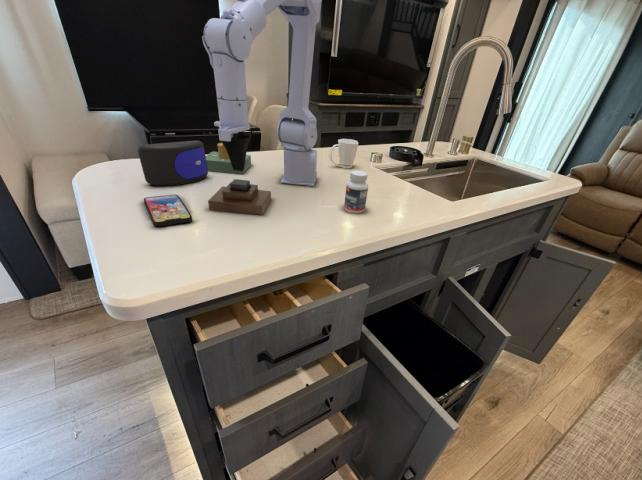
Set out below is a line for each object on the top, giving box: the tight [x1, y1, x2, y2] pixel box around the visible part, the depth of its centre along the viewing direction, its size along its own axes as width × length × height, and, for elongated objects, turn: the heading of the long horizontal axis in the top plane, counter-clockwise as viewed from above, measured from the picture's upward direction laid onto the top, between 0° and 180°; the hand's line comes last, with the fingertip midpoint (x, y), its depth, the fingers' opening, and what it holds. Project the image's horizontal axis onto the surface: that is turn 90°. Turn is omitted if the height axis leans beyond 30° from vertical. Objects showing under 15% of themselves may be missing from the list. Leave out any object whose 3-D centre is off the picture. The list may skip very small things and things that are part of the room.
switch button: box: [229, 178, 251, 192], centre depth 74 cm, size 4×4×2 cm
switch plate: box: [207, 183, 272, 216], centre depth 75 cm, size 12×10×4 cm
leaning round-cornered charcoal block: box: [137, 140, 209, 187], centre depth 82 cm, size 16×5×9 cm, turn 134°
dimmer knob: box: [216, 142, 229, 159], centre depth 96 cm, size 4×4×4 cm
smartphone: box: [143, 194, 193, 227], centre depth 70 cm, size 7×1×15 cm
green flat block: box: [205, 151, 252, 175], centre depth 98 cm, size 12×10×3 cm
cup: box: [329, 138, 359, 169], centre depth 108 cm, size 7×10×8 cm
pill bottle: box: [343, 170, 369, 214], centre depth 78 cm, size 5×5×9 cm
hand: (238, 169), depth 72 cm, fingers closed
